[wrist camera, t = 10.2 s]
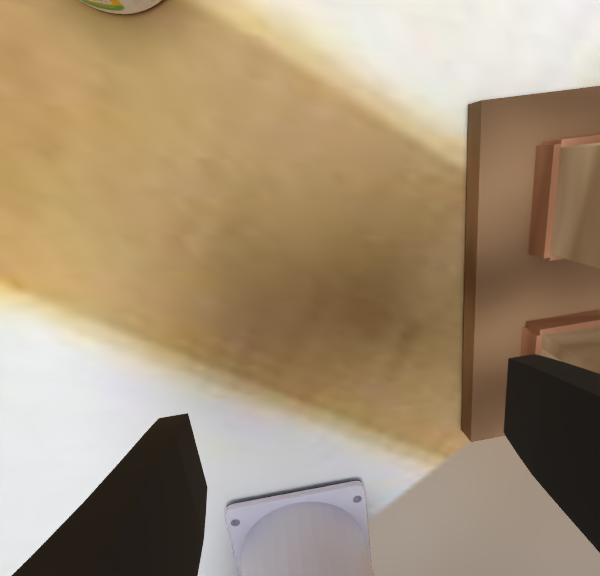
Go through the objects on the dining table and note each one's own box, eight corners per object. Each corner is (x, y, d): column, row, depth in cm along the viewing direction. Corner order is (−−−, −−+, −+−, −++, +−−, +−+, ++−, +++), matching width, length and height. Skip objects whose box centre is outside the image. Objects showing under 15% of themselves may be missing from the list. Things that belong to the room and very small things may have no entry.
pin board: (623, 400, 22) (699, 448, 18) (461, 429, 21) (505, 486, 18) (683, 77, 17) (809, 52, 13) (468, 104, 16) (534, 85, 12)
